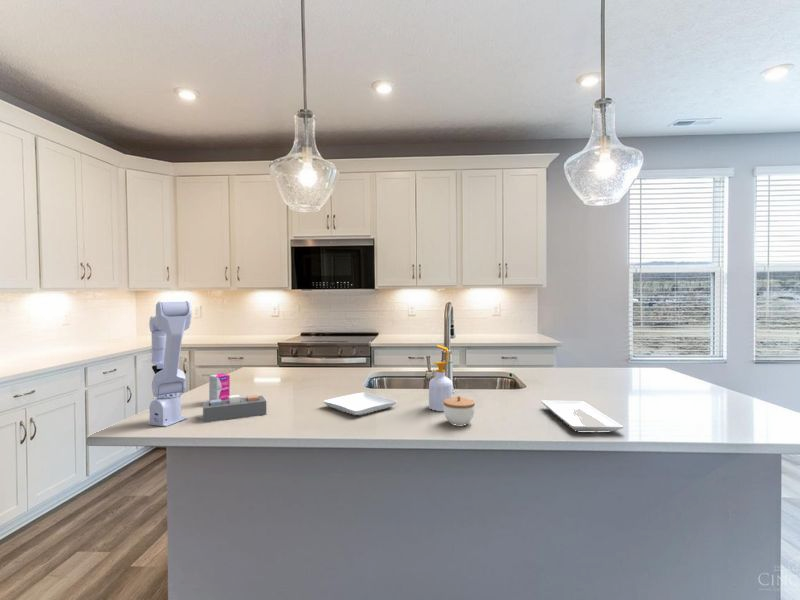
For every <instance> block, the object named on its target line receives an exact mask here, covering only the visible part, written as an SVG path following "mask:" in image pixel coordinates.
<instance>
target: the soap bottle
mask: <svg viewBox="0 0 800 600" xmlns="http://www.w3.org/2000/svg"><path fill="white" fill-rule="evenodd" d="M435 347H436V348H439V349H442V350H443V351H445V352H446V361H435V362H434V365H436V366H437V368H438V369H436V373H435V374H436V375H435V376H434V377H432V378H431V379H430V380H429V383H428V409H430V410H431V409H432V410H431V411H434V410H436V412H444V404H443V401H444V400H445V399H447V398H453V382H452V380H451V379H450V378H449V377H447V376H446V370H445V369H444V367H445V365H447V364H448V363H449V361H450V359H449V357H450V356H449V353H450V352H449V351H450V350H449V348H448V347H446V346H443V345H440V344H436V346H435Z"/></svg>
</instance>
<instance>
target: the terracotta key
mask: <svg viewBox="0 0 800 600" xmlns="http://www.w3.org/2000/svg"><path fill="white" fill-rule="evenodd" d="M258 396H259V395H257V394H255V395H246V397H247V402H249V401H258V400H259V397H258Z"/></svg>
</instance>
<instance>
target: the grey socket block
mask: <svg viewBox="0 0 800 600" xmlns="http://www.w3.org/2000/svg"><path fill="white" fill-rule="evenodd" d="M257 396H258V397H259V400H258V401H249V402H247V396H246V397H240V403H232V404H229V399H227V400H221V401H222V405H214V406H210V401H203V402H202V418H203V423H204V422H205V423H211V421H213V422H218V421H219V422H220V420H221V421H227V420H235V418H236V419H242V418H243V417H244V418H249V417H250V416H251V417H257V416H258V415H259V416H265V415H267V400H266V399H265V398H264V396H263V395H257Z"/></svg>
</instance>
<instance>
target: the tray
mask: <svg viewBox="0 0 800 600" xmlns="http://www.w3.org/2000/svg"><path fill="white" fill-rule="evenodd" d="M541 403H542V404H543V405H544V406H545V407H546V408H547V409H548V410H550V411H551V413H553V414H554V415H555V416H556V415H557V416H556V417H557V418H559V419H560V420H561V421H562V420H563V421H562V422H563V423H565V424H566V425H567V426H568V425H569V426H568V427H569V428H571V429H572V430H573V429H574V430H576V431H611V432H615V431H619V430H622V429H623V428H624V426H623V425H622V424H620V423H619V422H617V421H615V420H614V419H612V418H611V417H609V416H607V415H606V414H604V413H603V412H601V411H600V410H598V409H596V408H595V407H593V406H592V405H590V404H589V403H587V402H585V401H583V400H546V399H545V400H541ZM574 409H575V411H576V410H578V409H580V410H582V411H583V412H585V413H586V414H588V415H590V416H592V417H593V418H595V419H597V420H598V421H600V422H601V423H603V424H604V425H606V426H585V425H583V424H582V423H581V421H580V419H579V417H580V416H579V417H578V416H577V415H575V414H573V413H574ZM576 413H577V412H576ZM574 415H575V416H574ZM580 418H581V417H580ZM581 419H582V418H581ZM574 430H573V431H574ZM576 431H575V432H576Z"/></svg>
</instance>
